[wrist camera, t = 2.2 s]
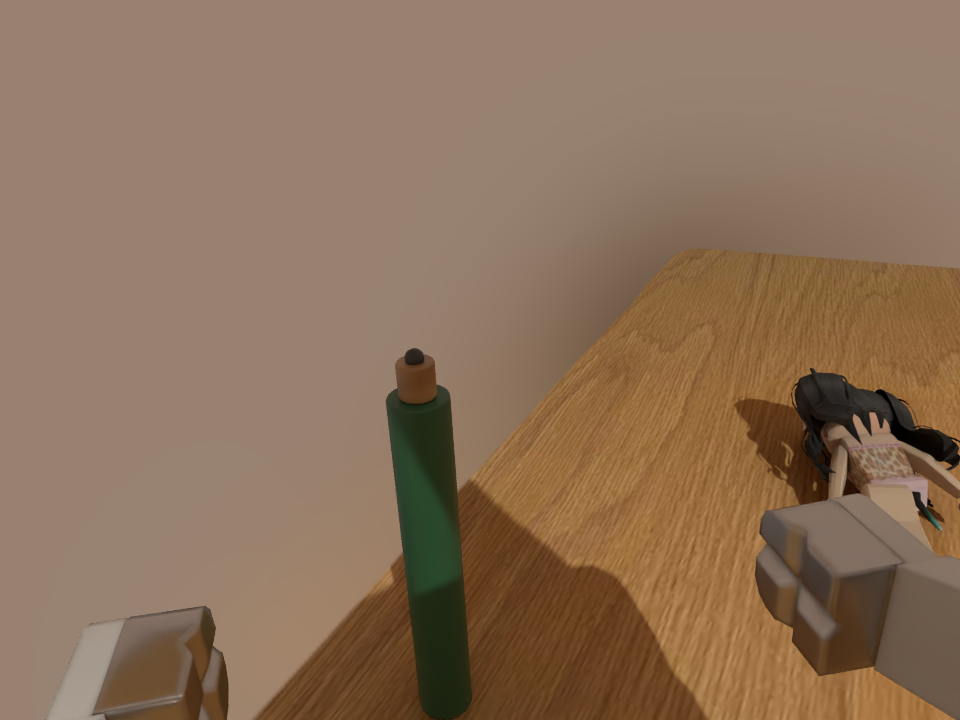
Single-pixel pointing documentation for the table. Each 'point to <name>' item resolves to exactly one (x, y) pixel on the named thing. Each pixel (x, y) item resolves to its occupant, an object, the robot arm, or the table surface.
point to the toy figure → (874, 447)
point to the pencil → (430, 533)
